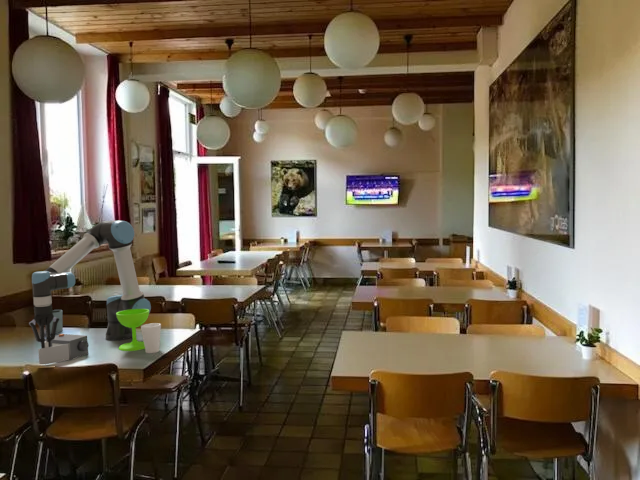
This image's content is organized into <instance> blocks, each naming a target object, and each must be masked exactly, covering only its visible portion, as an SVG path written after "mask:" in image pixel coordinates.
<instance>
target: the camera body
mask: <svg viewBox="0 0 640 480" xmlns="http://www.w3.org/2000/svg"><path fill="white" fill-rule="evenodd" d="M45 341H47V340H46V338H45ZM68 343H70V351H71V359H70V361H72V360H75V359H77V358H80V357H83V356H86V355H88V354H89V342H88V335H83V334H68V333H59V334H58V335H55V338H54V339H53V340H51V347H52V346H58V345H63V344H68Z"/></svg>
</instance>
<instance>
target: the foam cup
mask: <svg viewBox="0 0 640 480" xmlns="http://www.w3.org/2000/svg"><path fill="white" fill-rule="evenodd" d="M161 330H162V323H160V322H159V323H158V322H152V323H143V324H142V325H141V326H140V332H141V335H142V336H141V337H142V339H143V340H142V341H144V346H145V349H144V350H145V353H146V354H156V353H158V352H159V351H160V344H161Z"/></svg>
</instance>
